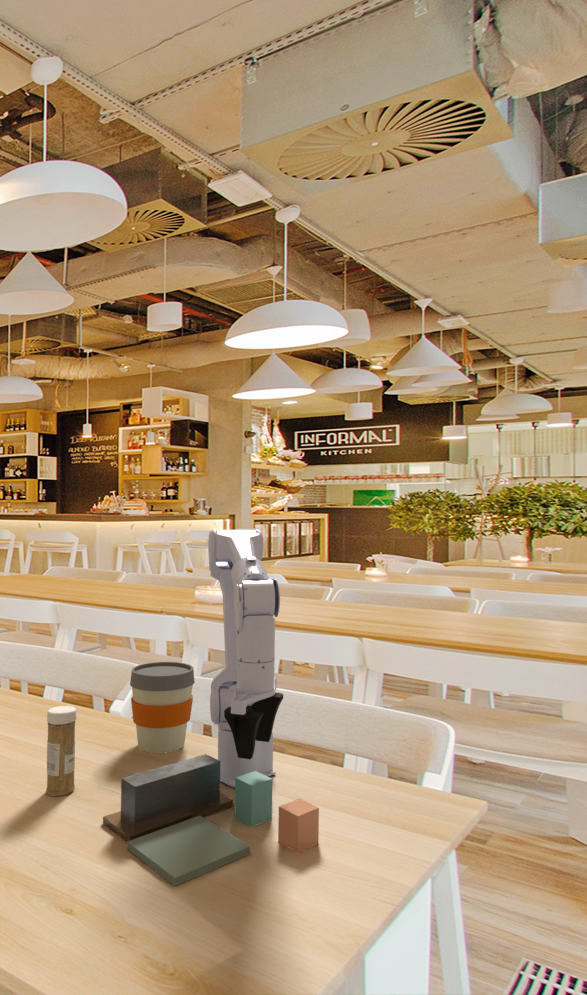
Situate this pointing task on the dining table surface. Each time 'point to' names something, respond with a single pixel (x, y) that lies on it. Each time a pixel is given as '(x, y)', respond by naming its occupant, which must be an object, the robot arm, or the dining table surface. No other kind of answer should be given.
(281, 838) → the terracotta block
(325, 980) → the dining table surface
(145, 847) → the pad
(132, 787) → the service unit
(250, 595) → the robot arm
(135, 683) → the reusable coffee cup
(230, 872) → the dining table surface
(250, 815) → the block
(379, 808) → the dining table surface
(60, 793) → the spice jar
